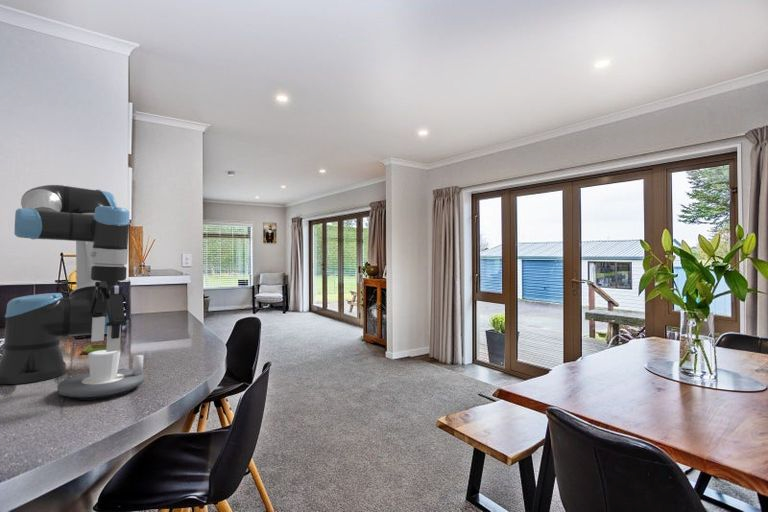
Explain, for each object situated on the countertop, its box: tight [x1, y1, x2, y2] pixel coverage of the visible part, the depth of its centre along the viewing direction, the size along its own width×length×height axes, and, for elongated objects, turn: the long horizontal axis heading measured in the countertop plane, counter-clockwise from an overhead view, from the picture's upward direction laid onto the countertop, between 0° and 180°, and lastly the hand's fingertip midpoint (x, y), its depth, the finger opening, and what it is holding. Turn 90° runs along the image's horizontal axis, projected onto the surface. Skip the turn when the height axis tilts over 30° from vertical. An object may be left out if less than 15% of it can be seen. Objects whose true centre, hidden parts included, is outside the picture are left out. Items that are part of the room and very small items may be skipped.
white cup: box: [88, 349, 122, 382], centre depth 98 cm, size 7×7×7 cm
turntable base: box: [71, 389, 132, 401], centre depth 98 cm, size 13×13×1 cm
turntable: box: [57, 354, 145, 398], centre depth 98 cm, size 18×18×6 cm
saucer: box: [83, 343, 107, 355], centre depth 137 cm, size 9×9×2 cm
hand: (104, 345), depth 99 cm, fingers open, 13 cm apart
